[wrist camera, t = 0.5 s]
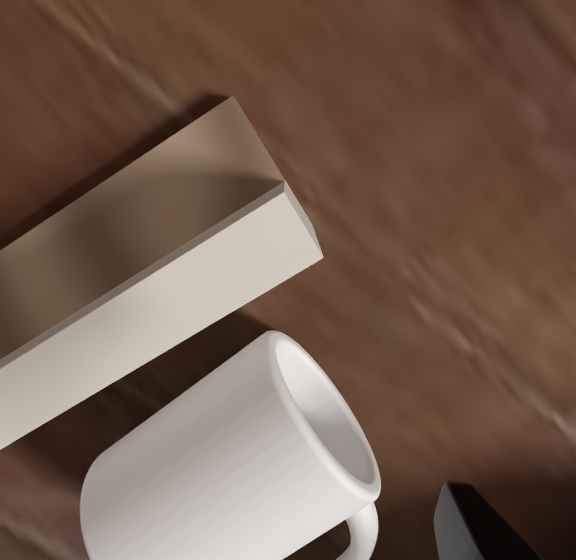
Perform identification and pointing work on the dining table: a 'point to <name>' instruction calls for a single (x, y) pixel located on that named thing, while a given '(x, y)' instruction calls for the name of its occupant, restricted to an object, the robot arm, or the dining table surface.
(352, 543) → the mug
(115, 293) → the screen
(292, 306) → the dining table surface
